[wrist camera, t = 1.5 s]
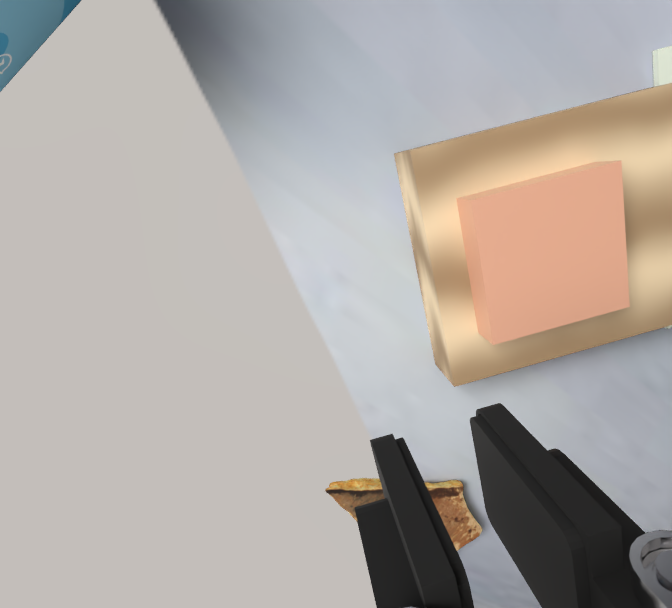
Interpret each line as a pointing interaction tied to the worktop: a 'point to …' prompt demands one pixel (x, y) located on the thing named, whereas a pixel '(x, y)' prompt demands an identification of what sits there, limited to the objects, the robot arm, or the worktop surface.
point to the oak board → (522, 164)
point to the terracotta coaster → (546, 250)
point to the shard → (442, 494)
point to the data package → (27, 30)
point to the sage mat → (662, 72)
